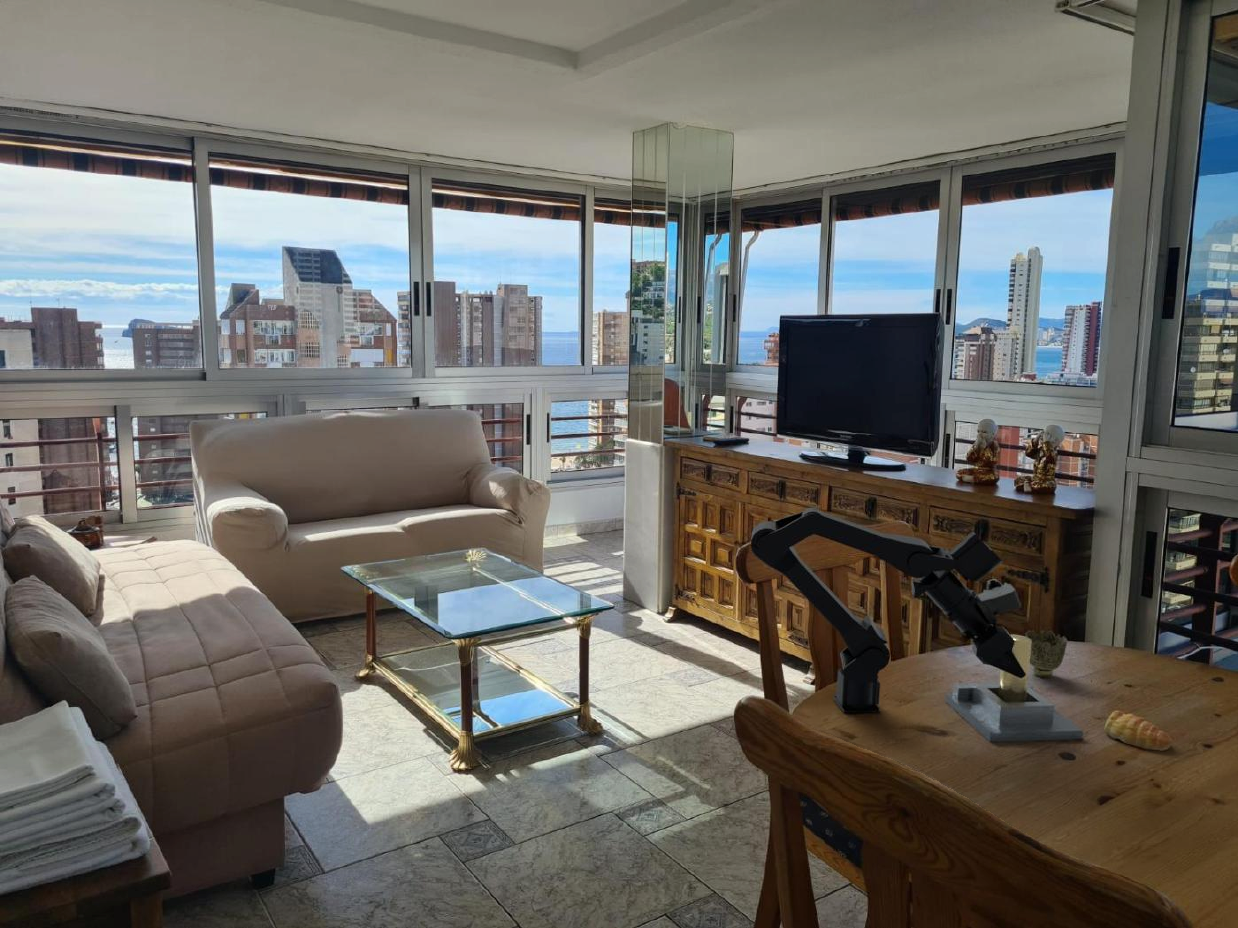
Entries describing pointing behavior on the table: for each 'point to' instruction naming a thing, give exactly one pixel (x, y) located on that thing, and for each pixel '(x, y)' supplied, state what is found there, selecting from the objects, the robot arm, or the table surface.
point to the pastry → (1136, 731)
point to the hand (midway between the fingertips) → (1016, 666)
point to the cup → (1046, 652)
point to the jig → (1010, 715)
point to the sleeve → (1010, 684)
